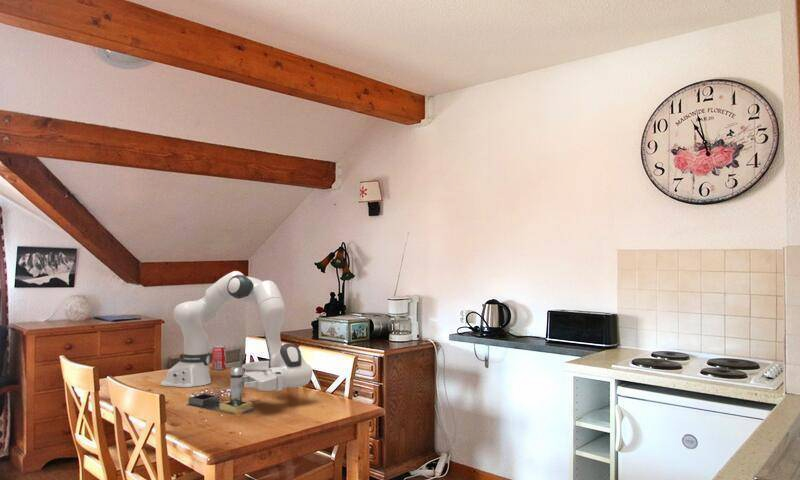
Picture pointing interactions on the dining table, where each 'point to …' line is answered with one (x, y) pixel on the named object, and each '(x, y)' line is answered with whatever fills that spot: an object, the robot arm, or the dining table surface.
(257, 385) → the robot arm
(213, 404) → the plate
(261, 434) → the dining table surface
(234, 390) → the tube
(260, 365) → the soup bowl
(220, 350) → the soda can
